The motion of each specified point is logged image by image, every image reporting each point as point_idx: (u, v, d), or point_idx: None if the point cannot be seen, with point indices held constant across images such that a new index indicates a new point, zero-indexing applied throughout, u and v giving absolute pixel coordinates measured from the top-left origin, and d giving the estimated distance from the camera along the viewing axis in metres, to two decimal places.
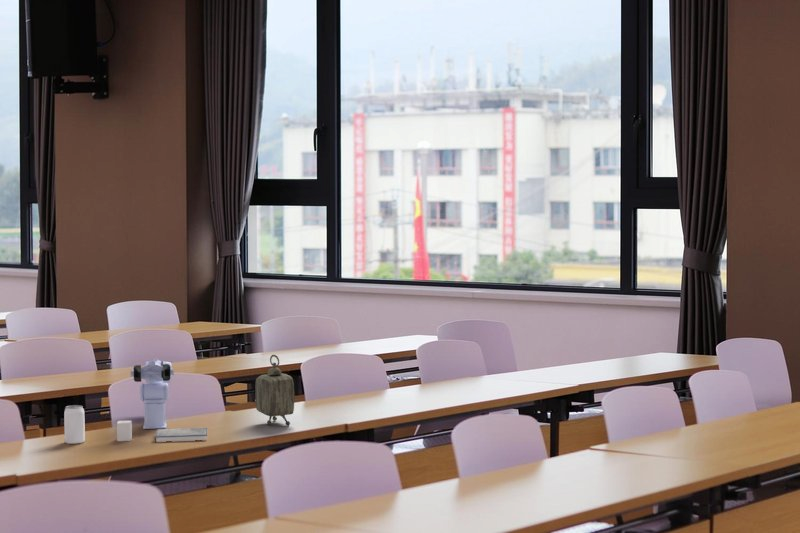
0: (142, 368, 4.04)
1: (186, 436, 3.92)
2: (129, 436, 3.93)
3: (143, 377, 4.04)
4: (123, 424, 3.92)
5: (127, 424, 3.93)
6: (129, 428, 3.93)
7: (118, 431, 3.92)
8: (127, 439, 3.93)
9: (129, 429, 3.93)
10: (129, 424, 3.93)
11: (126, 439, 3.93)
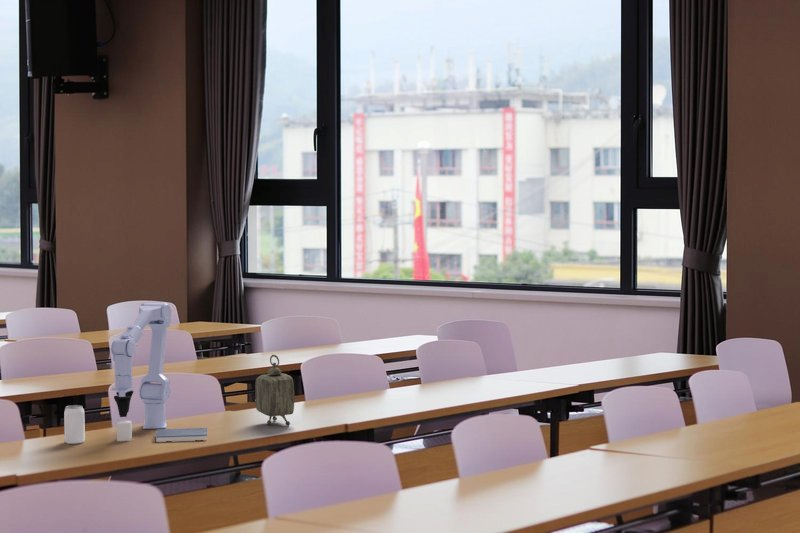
0: None
1: (186, 436, 3.92)
2: (129, 436, 3.93)
3: None
4: (123, 424, 3.92)
5: (127, 424, 3.93)
6: (129, 428, 3.93)
7: (118, 431, 3.92)
8: (127, 439, 3.93)
9: (129, 429, 3.93)
10: (129, 424, 3.93)
11: (126, 439, 3.93)
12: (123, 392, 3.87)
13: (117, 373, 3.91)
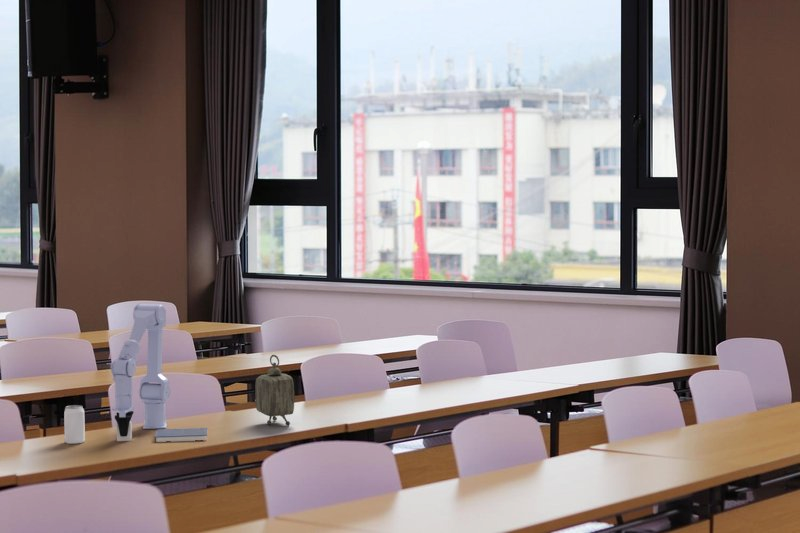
0: None
1: (186, 436, 3.92)
2: (129, 436, 3.93)
3: None
4: None
5: None
6: (129, 428, 3.93)
7: (118, 431, 3.92)
8: (127, 439, 3.93)
9: (129, 429, 3.93)
10: (129, 424, 3.93)
11: (126, 439, 3.93)
12: (123, 412, 3.87)
13: (117, 393, 3.91)
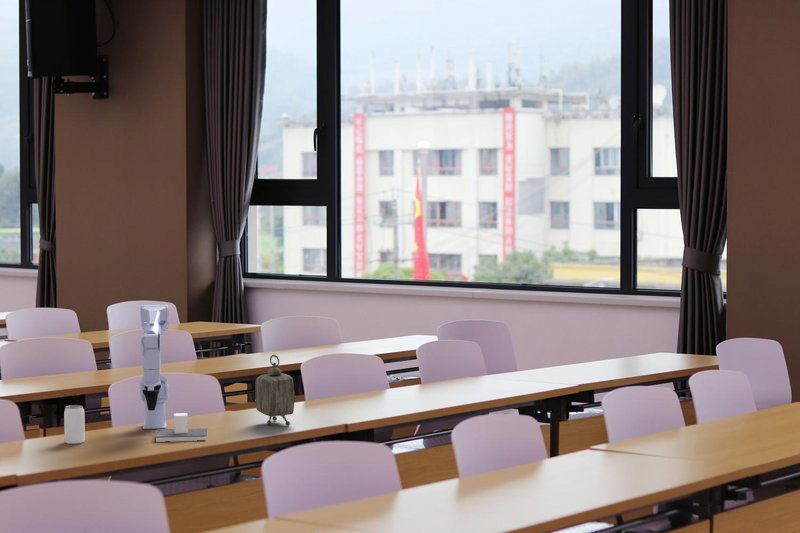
0: None
1: (186, 436, 3.92)
2: (186, 428, 3.96)
3: None
4: (180, 416, 3.95)
5: (184, 416, 3.96)
6: (186, 420, 3.96)
7: (175, 423, 3.95)
8: (184, 431, 3.96)
9: (186, 421, 3.96)
10: (186, 416, 3.96)
11: (183, 431, 3.96)
12: (152, 386, 3.93)
13: (149, 367, 3.97)
